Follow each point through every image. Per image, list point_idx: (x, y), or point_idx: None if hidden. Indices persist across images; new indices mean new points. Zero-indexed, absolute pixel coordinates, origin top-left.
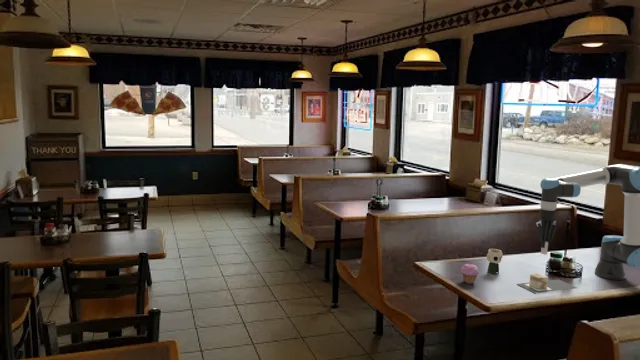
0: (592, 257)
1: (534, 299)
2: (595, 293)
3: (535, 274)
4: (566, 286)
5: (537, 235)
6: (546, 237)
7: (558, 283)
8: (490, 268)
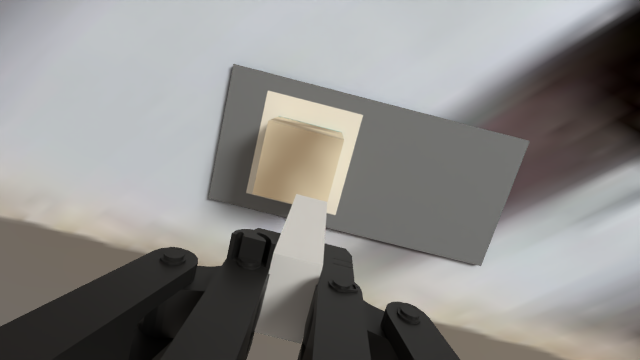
0: None
1: (149, 238)
2: (492, 333)
3: (296, 140)
4: (449, 226)
5: (83, 285)
6: (304, 353)
7: (458, 178)
8: None
